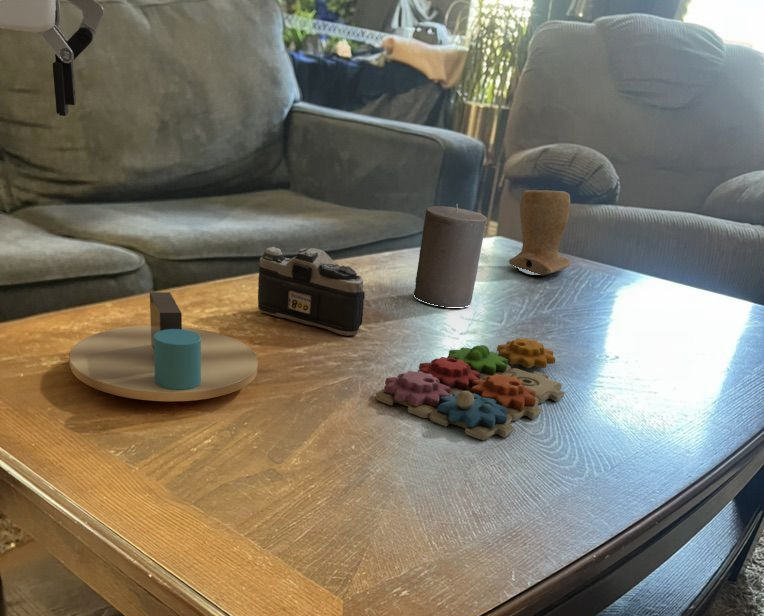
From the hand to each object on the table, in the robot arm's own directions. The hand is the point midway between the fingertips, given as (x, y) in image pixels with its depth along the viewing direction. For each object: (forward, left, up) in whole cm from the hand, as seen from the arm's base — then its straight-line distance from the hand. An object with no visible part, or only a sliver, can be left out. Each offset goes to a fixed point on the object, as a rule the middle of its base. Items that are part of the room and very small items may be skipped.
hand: (2, 107), depth 66 cm
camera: (+34, +28, -26) cm, 51 cm away
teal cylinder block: (+14, -2, -24) cm, 28 cm away
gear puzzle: (+52, +4, -26) cm, 58 cm away
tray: (+13, +5, -25) cm, 28 cm away
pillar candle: (+57, +40, -26) cm, 75 cm away
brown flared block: (+84, +64, -26) cm, 109 cm away
